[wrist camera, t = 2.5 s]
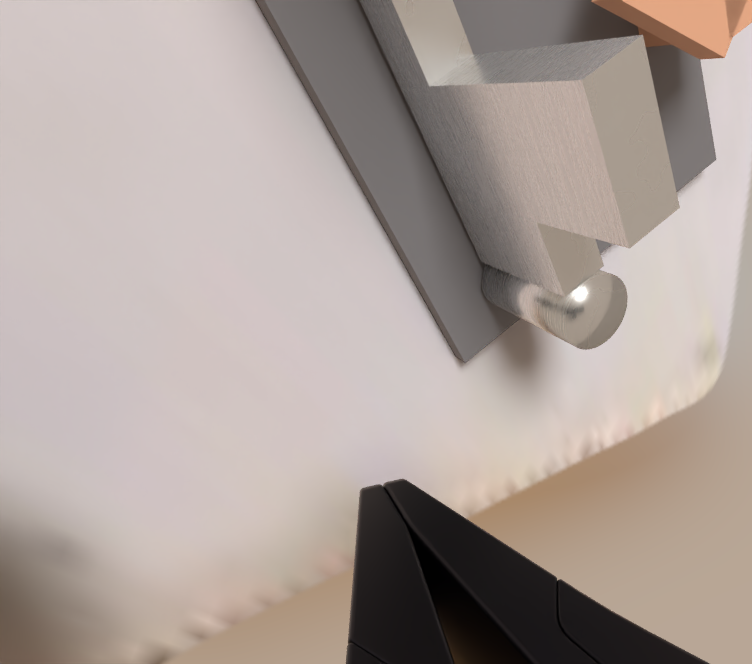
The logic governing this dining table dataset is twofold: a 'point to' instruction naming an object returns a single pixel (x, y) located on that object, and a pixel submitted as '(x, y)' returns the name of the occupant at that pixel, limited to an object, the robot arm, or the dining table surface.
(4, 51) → the dining table surface
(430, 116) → the link
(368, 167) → the board
